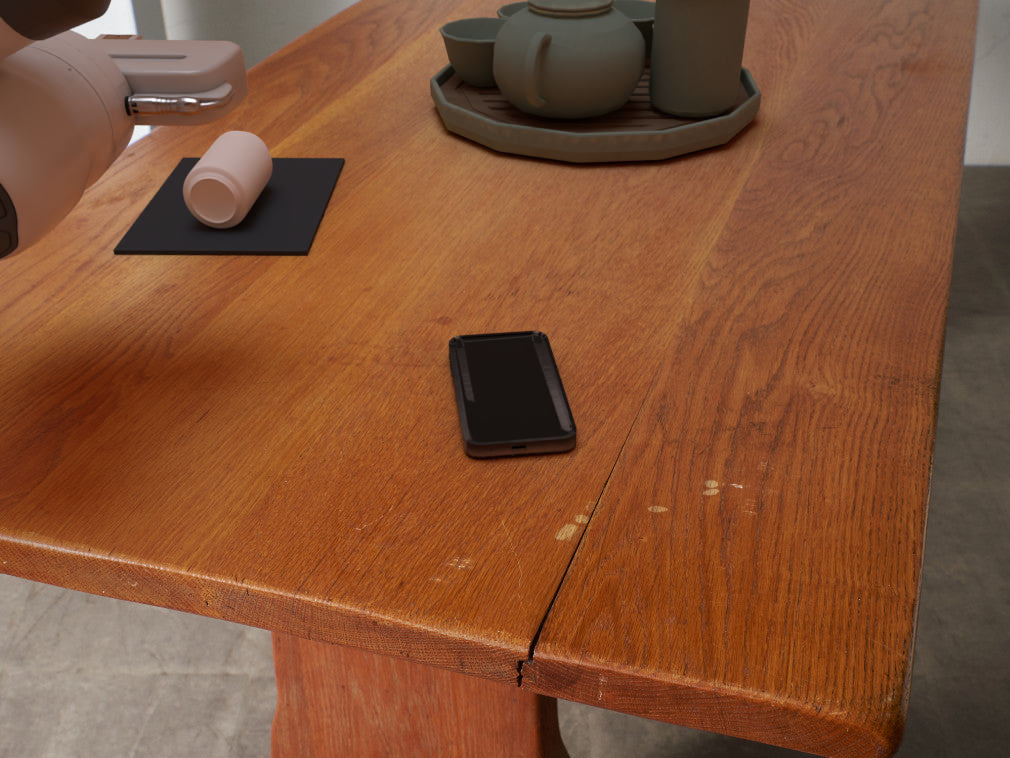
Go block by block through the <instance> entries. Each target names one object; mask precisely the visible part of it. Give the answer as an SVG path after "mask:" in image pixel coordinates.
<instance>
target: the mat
mask: <svg viewBox="0 0 1010 758" xmlns="http://www.w3.org/2000/svg"><path fill="white" fill-rule="evenodd" d="M202 157H203V156H201V157H198V156H197V157H193V156H191V157H189V156H187V157H186V156H185V157H182V158H181V159H180V161H179V162H178V163H177V165H176V166H175V167H174V169H173V170H172V171H171V172H170V174H169V175H168V177H167V178H166V179H165V180H164V182H163V183H162V184H161V186H160V187H159V189H158V190H157V191H156V193H155V194H154V195H153V196H152V198H151V199H150V200H149V202H148V203H147V204H146V206H145V207H144V208H143V210H142V211H141V212H140V214H139V215H138V216H137V218H136V219H135V220H134V222H133V223H132V225H131V226H130V227H129V229H127V231H126V232H125V233H124V235H123V236H122V237H121V239H120V240H119V242H118V243H117V244H116V246H115V247H114V248H113V251H112V252H113V254H114V255H208V256H209V255H212V256H213V255H221V256H222V255H223V256H224V255H226V256H228V255H230V256H234V255H235V256H238V255H239V256H240V255H241V256H308V255H309V253H310V251H311V247H312V245H313V242H314V240H315V237H316V235H317V232H318V230H319V227H320V225H321V223H322V220H323V217H324V215H325V213H326V210H327V207H328V205H329V202H330V200H331V197H332V195H333V193H334V189H335V187H336V185H337V182H338V180H339V178H340V175H341V172H342V170H343V168H344V166H345V163H346V158H345V157H271V159H272V165H273V169H272V174H271V177H270V179H269V181H268V183H267V184H266V186H265V187H264V189H263V190H262V192H261V193H260V195H259V197H258V198H257V200H256V201H255V203H254V204H253V206H252V207H251V209H250V210H249V212H248V213H247V215H246V216H245V217H244V219H243V220H242V221H241V222H240V223H238V224H237V225H235V226H233V227H230V228H225V229H219V228H214V227H210V226H208V225H206V224H204V223H202V222H201V221H199V220H198V219H197V218H196V217H195V216H194V215H193V214H192V213H191V212H190V210H189V209H188V207H187V205H186V203H185V200H184V196H183V186H184V182H185V179H186V177H187V176H188V174H189V173H190V171H191V170H192V169H193V168H194V166H195V165H196V164H197V163H198V161H199V160H200V159H201V158H202Z"/></svg>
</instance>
